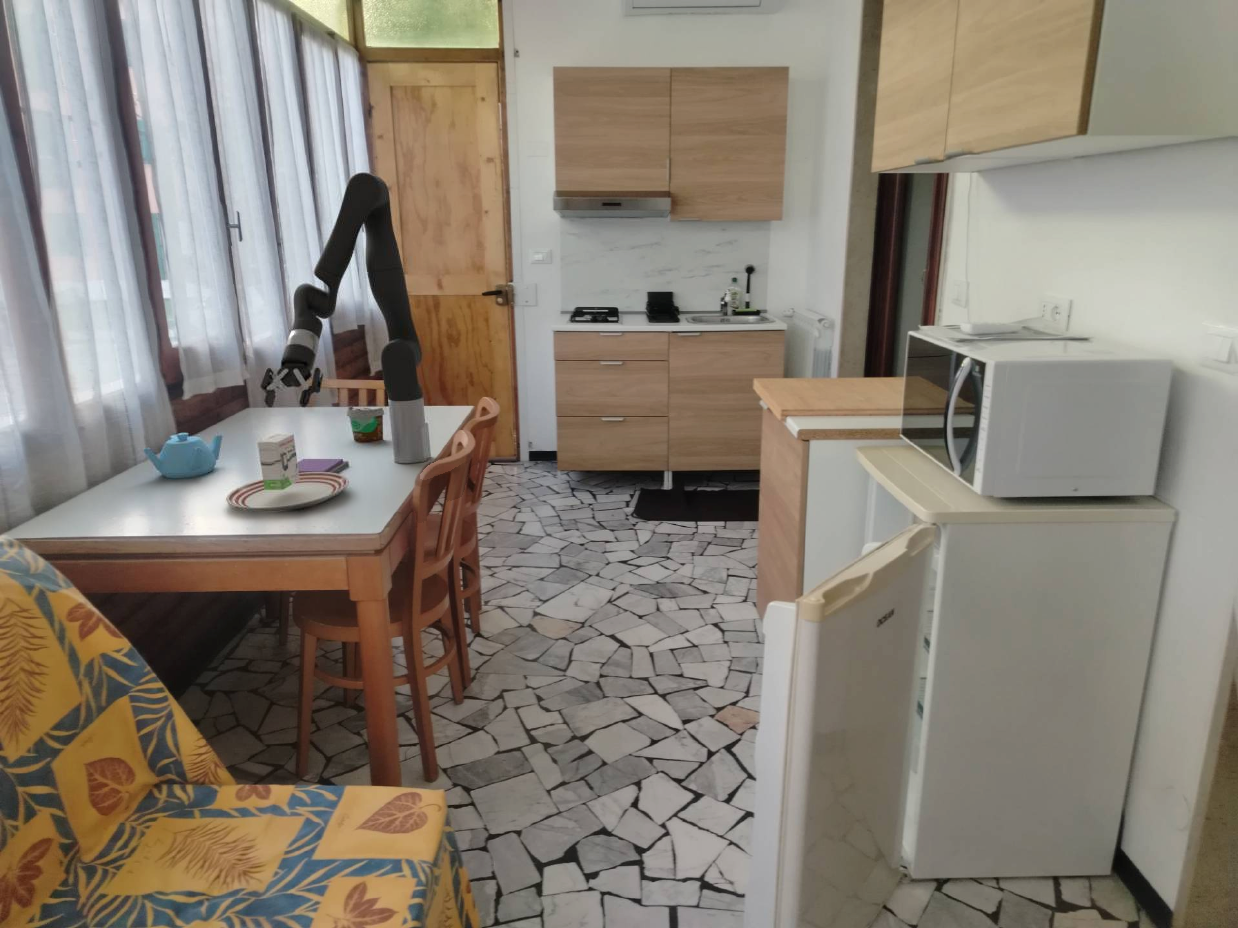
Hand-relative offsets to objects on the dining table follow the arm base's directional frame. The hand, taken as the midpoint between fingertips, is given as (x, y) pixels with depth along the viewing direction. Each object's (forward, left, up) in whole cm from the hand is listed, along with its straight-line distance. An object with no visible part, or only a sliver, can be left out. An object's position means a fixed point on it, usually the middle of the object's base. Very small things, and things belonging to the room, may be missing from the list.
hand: (285, 405), depth 202 cm
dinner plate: (-3, +9, -21) cm, 23 cm away
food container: (+1, -46, -21) cm, 51 cm away
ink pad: (+1, -12, -21) cm, 24 cm away
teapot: (+36, -12, -21) cm, 43 cm away
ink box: (-1, +8, -18) cm, 20 cm away
